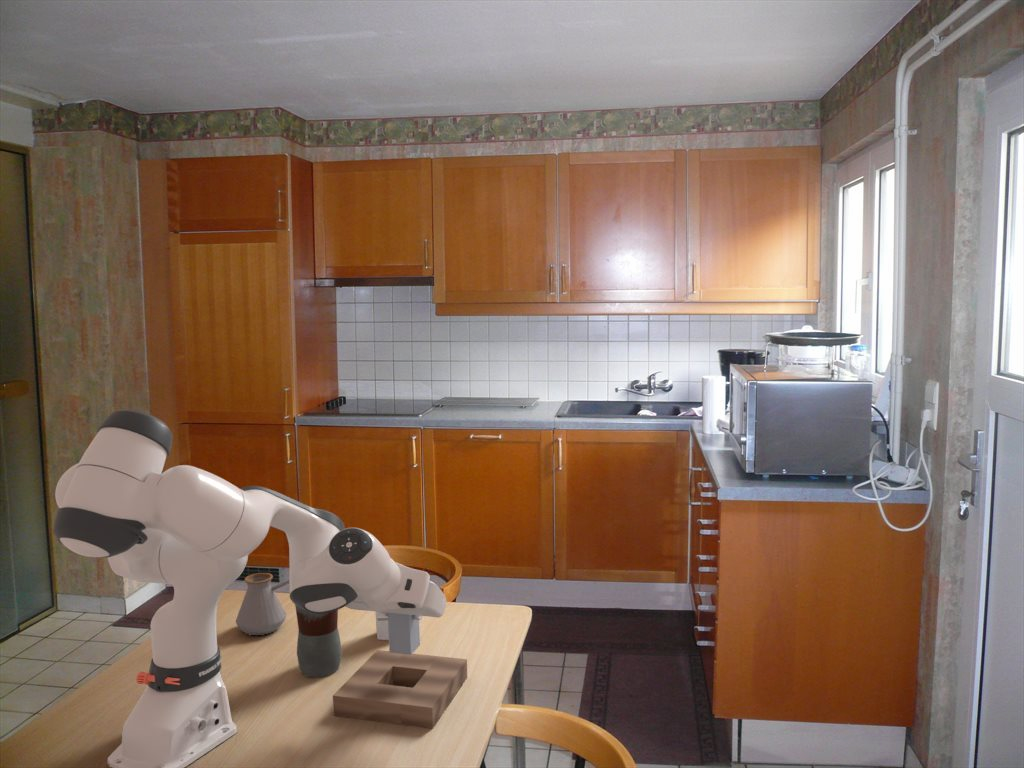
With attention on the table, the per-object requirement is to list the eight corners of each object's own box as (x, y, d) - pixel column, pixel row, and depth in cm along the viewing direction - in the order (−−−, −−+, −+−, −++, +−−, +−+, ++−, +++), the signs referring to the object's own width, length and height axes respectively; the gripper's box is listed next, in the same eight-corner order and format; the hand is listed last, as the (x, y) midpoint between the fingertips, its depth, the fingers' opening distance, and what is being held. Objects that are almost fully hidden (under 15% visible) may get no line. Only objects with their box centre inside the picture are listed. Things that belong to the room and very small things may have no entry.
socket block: (433, 728, 151) (432, 707, 150) (333, 715, 156) (332, 695, 156) (467, 677, 170) (466, 659, 169) (378, 667, 175) (377, 649, 175)
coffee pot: (231, 641, 190) (227, 578, 188) (242, 621, 202) (239, 561, 200) (324, 635, 192) (321, 573, 190) (331, 616, 203) (328, 557, 201)
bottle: (288, 673, 173) (280, 535, 170) (316, 655, 182) (309, 523, 178) (324, 682, 169) (317, 540, 166) (351, 663, 178) (344, 528, 174)
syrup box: (401, 640, 189) (399, 579, 187) (376, 640, 189) (373, 579, 187) (405, 629, 194) (403, 570, 193) (380, 630, 194) (377, 570, 193)
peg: (410, 654, 158) (408, 605, 157) (389, 652, 160) (387, 603, 158) (420, 644, 163) (417, 596, 161) (399, 642, 164) (396, 594, 163)
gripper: (324, 596, 151) (351, 625, 162) (427, 605, 146) (449, 635, 156) (334, 564, 155) (361, 595, 166) (436, 572, 149) (456, 603, 160)
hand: (404, 614), depth 161 cm, fingers closed on peg, 4 cm apart
